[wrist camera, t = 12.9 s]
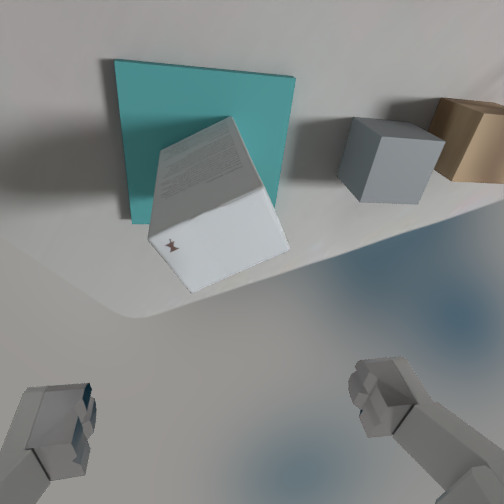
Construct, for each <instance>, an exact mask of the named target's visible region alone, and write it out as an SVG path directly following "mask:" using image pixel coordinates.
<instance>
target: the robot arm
mask: <svg viewBox="0 0 504 504" xmlns="http://www.w3.org/2000/svg"><path fill="white" fill-rule="evenodd" d="M355 368H356V370H357V371H356V372H354V373H353V374H351V376H350V379H349V381H348V382H349V393H350V397H351V399H352V402H353V404H354V405H355V406H357V407H358V408H359V409H360V415H359V418H360V421H361V423H362V425H363V427H364V430H365V432H366V434H367V437H368V438H370V437H380V436H390V435H393V438H394V439H395V440H396V441H397V442H398V443H399V444H400V445H401V446H402V447H403V448H404V449H405V450H406V451H407V452H408V453H409V454H410V455H411V456H412V457H413V458H414V459H415V460H416V461H417V462H418V463H419V464H420V465H421V466H422V467H423V469H425V470H426V471H427V473H428V474H429V475H430V476H431V477H432V478H433V479H434V480H435V481H436V482H437V483H438V484H439V485H440V486H441V487H442V488H443V489H444V490H445V492H444V493H443V494H442V495H441V496H440V497H439V498H438V499H437V500H436V502H435V504H504V451H503V450H502V449H501V448H499V447H498V446H497V445H495V444H494V443H493V442H491V441H490V440H488V439H487V438H486V437H484V436H483V435H482V434H480V433H479V432H478V431H476V430H475V429H474V428H472V427H471V426H470V425H468V424H467V423H465V422H464V421H463V420H461V419H460V418H459V417H457V416H456V415H455V414H453V413H452V412H451V411H449V410H448V409H446V408H445V407H444V406H442V405H441V404H440V403H438V402H436V403H434V402H433V400H432V399H431V397H430V396H429V394H428V392H427V391H426V389H425V388H424V386H423V385H422V383H421V381H420V380H419V378H418V377H417V375H416V373H415V372H414V370H413V369H412V367H411V366H410V364H409V362H408V361H407V360H406V359H405V358H404V357H400V356H399V357H389V358H387V357H385V358H375V359H365V360H360V361H358V362H357V363H356V366H355ZM91 391H92V388H91V386H90V383H81V384H68V385H56V386H41V387H29V388H27V389H26V391H25V392H24V393H23V395H22V398H21V400H20V403H19V405H18V408H17V410H16V413H15V415H14V418H13V420H12V423H11V425H10V428H9V430H8V433H7V436H6V438H5V441H4V443H3V446H2V448H1V451H0V504H36V502H37V501H38V500H39V498H40V497H41V496H42V494H43V493H44V492H45V490H46V489H47V487H48V486H49V485H50V481H54V480H60V479H66V478H72V477H78V476H84V475H85V474H86V468H87V463H88V459H89V453H90V447H89V444H88V441H87V440H88V438H89V437H90V436H91V435H92V434H93V432H94V428H95V422H96V402H95V399H94V398H93V397H91Z"/></svg>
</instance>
